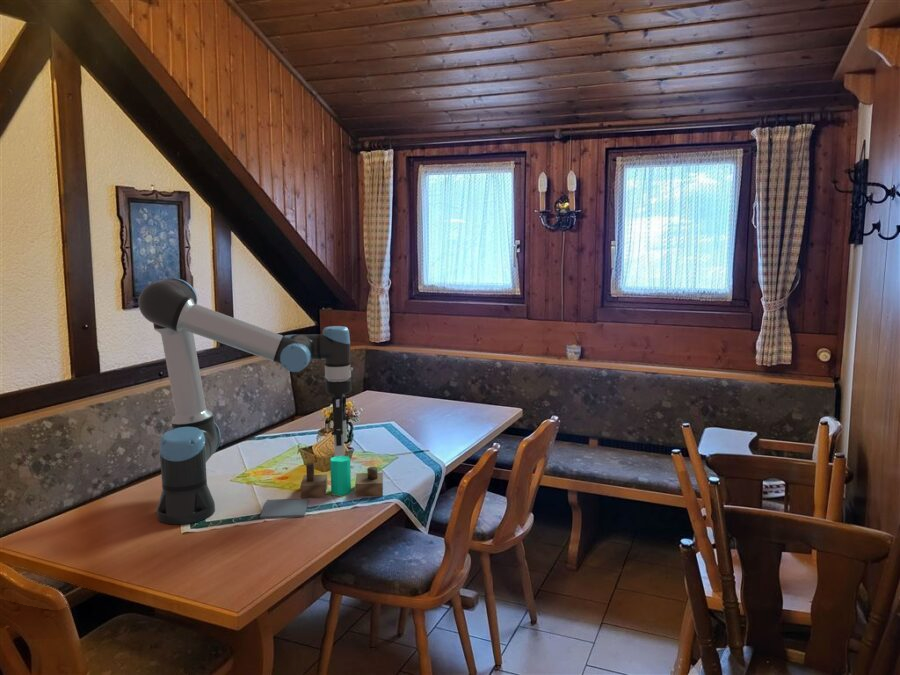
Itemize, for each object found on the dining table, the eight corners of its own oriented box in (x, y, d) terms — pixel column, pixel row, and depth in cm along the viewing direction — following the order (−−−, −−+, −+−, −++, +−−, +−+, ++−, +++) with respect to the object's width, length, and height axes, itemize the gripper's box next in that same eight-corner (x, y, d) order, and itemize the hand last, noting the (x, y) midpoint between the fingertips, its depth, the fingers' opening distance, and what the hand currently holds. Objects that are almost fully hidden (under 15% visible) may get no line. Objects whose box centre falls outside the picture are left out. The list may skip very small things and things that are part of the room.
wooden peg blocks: (300, 498, 212) (299, 469, 211) (304, 487, 221) (303, 459, 219) (382, 496, 214) (382, 467, 213) (382, 485, 223) (382, 457, 222)
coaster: (260, 518, 198) (260, 516, 198) (267, 501, 210) (267, 499, 210) (304, 516, 199) (304, 514, 199) (308, 500, 211) (308, 498, 211)
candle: (347, 496, 214) (346, 457, 212) (328, 494, 215) (327, 456, 213) (353, 488, 220) (353, 451, 218) (335, 487, 221) (334, 449, 219)
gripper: (349, 388, 200) (351, 461, 203) (353, 369, 224) (355, 435, 228) (321, 389, 199) (324, 462, 203) (328, 370, 224) (331, 436, 227)
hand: (341, 448), depth 215 cm, fingers open, 13 cm apart
